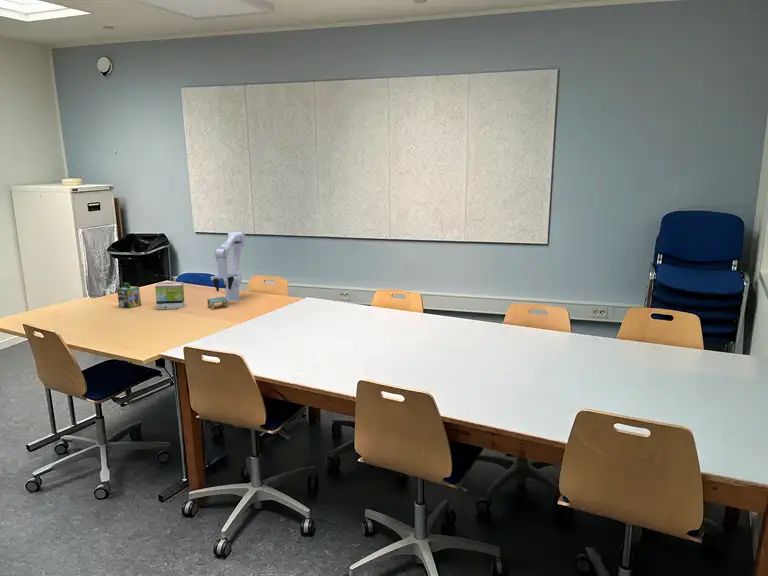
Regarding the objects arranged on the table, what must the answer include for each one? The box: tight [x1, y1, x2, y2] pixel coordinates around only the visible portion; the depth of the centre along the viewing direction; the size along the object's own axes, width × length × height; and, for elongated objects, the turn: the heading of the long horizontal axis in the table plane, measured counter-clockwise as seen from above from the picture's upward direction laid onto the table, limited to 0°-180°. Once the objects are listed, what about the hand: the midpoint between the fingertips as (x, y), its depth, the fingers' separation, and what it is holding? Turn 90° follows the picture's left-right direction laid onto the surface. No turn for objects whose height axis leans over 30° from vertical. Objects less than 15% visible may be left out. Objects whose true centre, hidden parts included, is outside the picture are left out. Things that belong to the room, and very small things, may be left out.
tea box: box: [154, 281, 185, 310], centre depth 339 cm, size 15×10×15 cm, turn 104°
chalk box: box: [116, 282, 142, 309], centre depth 341 cm, size 9×9×15 cm
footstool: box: [206, 296, 229, 311], centre depth 338 cm, size 7×10×5 cm
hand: (223, 290), depth 344 cm, fingers open, 7 cm apart
